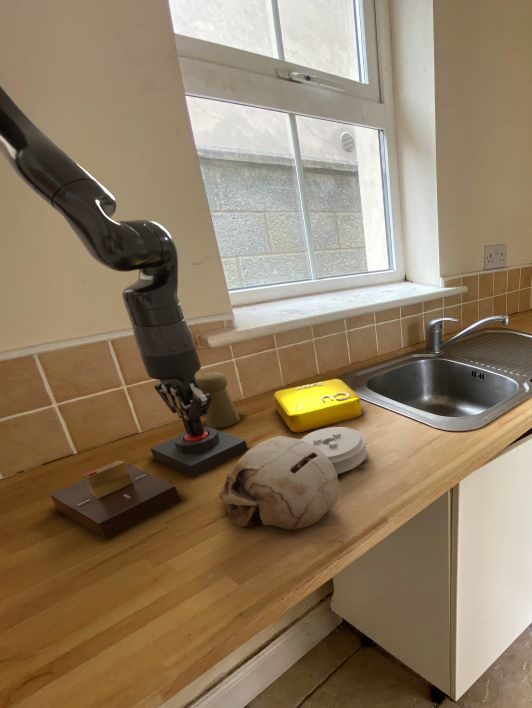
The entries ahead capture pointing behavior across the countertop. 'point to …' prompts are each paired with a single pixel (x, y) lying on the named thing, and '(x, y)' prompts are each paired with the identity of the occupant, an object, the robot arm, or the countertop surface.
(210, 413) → the cork
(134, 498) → the plate
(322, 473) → the coin bank
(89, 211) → the robot arm
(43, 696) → the countertop surface
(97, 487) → the lock knob
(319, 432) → the lid
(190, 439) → the bell button
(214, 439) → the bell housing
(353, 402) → the element tile
